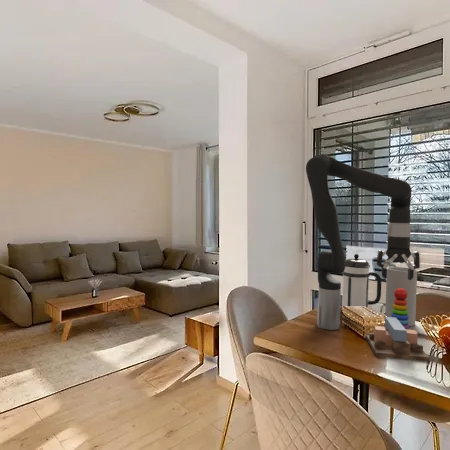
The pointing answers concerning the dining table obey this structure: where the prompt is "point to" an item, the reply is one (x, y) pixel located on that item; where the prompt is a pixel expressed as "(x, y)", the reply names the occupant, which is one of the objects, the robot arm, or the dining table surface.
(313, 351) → the dining table surface
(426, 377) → the dining table surface
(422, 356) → the jig
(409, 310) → the cylinder vase
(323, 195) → the robot arm
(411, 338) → the pink u-shaped block
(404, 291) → the stacking toy
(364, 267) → the coffee press
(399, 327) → the blue-grey rectangular bar
